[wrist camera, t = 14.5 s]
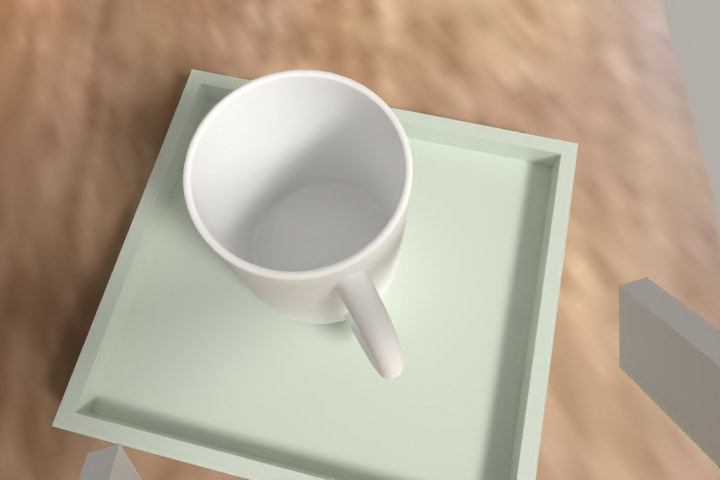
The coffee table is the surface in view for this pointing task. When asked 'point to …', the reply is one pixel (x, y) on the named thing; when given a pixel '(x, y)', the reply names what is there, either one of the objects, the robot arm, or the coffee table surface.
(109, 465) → the robot arm
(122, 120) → the coffee table surface
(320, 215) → the cup
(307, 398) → the sage tray
